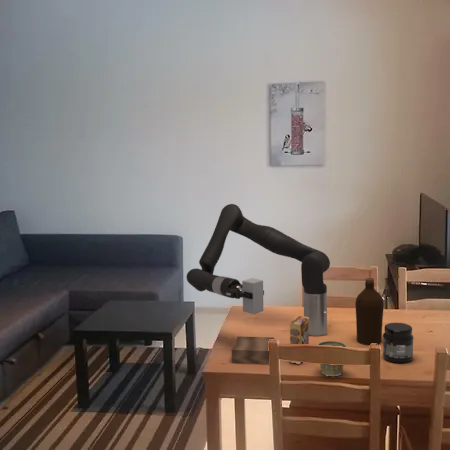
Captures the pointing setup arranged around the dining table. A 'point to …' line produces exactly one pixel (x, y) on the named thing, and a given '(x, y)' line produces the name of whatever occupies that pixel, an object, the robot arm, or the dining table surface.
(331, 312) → the dining table surface
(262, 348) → the walnut plinth
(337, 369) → the ceramic cup
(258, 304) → the grey block
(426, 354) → the dining table surface
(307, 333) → the candy box
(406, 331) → the supplement container
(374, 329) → the olive oil
